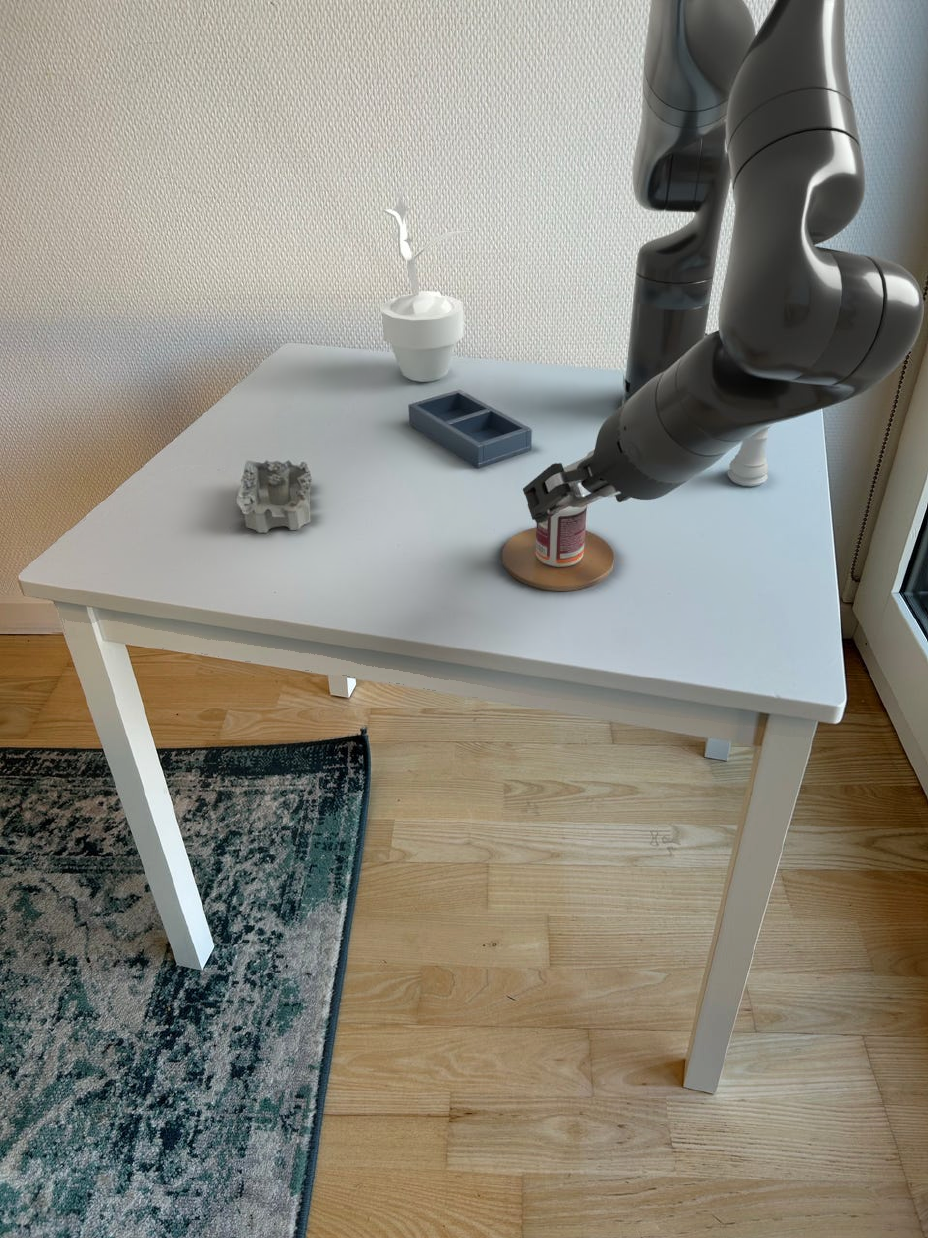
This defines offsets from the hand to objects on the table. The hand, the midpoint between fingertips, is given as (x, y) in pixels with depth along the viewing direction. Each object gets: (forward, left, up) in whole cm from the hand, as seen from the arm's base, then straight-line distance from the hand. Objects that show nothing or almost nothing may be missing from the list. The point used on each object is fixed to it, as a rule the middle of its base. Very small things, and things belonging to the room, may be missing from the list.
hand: (576, 501), depth 78 cm
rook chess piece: (-29, -3, -8) cm, 30 cm away
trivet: (-1, -3, -8) cm, 9 cm away
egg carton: (+17, -29, -8) cm, 35 cm away
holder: (-10, -31, -8) cm, 33 cm away
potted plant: (-17, -51, -8) cm, 55 cm away
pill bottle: (-1, -3, -8) cm, 8 cm away
